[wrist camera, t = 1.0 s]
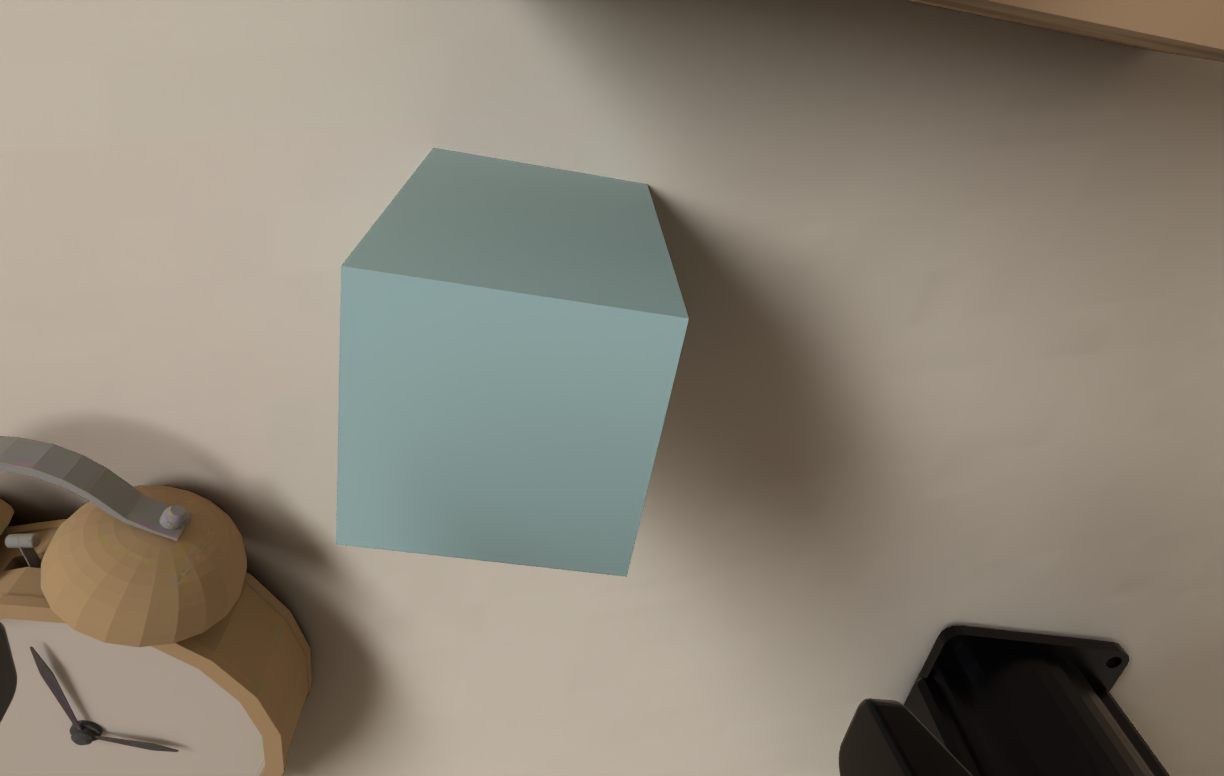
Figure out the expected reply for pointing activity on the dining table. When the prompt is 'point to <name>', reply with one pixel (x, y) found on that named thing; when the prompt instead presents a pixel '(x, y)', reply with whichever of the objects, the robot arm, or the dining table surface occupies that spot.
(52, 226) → the dining table surface
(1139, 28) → the cleat board
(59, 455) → the alarm clock
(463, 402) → the teal block
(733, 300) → the dining table surface
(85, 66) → the dining table surface
